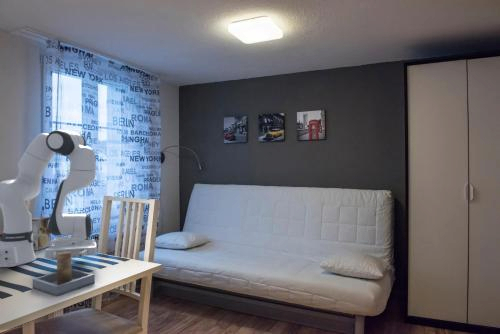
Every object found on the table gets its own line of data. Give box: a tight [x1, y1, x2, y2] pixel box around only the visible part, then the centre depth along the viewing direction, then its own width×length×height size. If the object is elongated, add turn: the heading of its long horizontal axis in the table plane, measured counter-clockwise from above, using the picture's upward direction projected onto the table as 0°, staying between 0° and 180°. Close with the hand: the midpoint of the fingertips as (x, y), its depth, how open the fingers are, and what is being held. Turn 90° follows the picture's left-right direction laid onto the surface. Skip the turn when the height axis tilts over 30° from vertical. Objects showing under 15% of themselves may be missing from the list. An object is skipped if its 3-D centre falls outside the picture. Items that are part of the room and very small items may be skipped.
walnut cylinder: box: [56, 252, 73, 285], centre depth 135 cm, size 5×5×12 cm
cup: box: [49, 236, 71, 247], centre depth 177 cm, size 11×8×8 cm
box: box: [31, 267, 96, 297], centre depth 135 cm, size 15×15×4 cm
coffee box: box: [32, 216, 52, 251], centre depth 189 cm, size 9×6×16 cm
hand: (68, 255), depth 144 cm, fingers open, 8 cm apart
